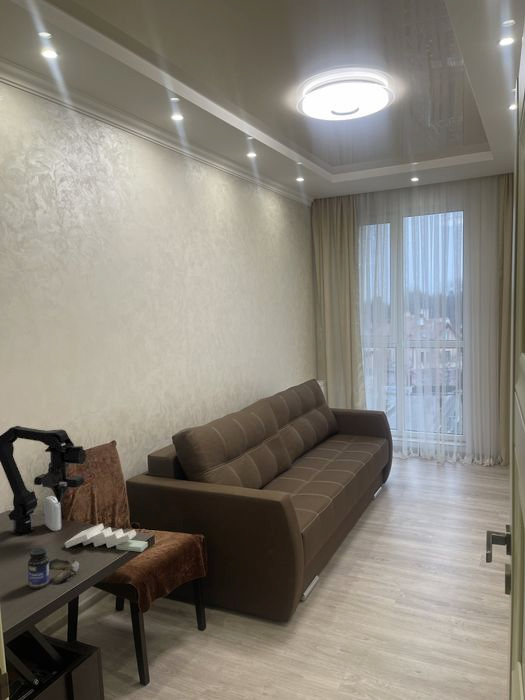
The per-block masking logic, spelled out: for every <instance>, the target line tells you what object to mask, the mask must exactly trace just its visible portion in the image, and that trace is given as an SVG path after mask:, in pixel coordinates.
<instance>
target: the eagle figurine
mask: <svg viewBox="0 0 525 700" xmlns="http://www.w3.org/2000/svg"><path fill="white" fill-rule="evenodd" d="M71 557H72V558H71V561H72V563H71V562H70V561H69V560H67V559H65V560H63V559H59V558H54V559H52V560H49V571H50V570H54V571H60V570H62V572H60V573H58V574H57V575H56V576H55V577H53V578H51V579H50V580H49V584H51V585H58V584H60V583H61V582H62V581H64V580H65V579H68V578H69V577H70V576H71V575H72V573H73V574H74V575H77V571H78V570H79V568H80V563H79V561H76V559H74V556H71Z"/></svg>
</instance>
